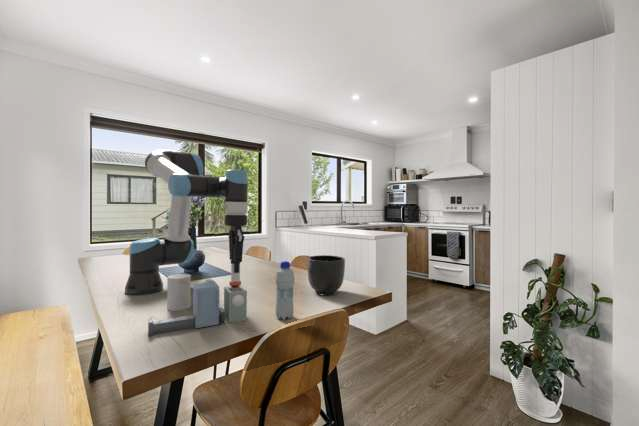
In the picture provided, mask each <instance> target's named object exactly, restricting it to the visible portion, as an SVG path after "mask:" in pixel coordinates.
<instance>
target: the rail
mask: <svg viewBox="0 0 639 426" xmlns="http://www.w3.org/2000/svg"><path fill="white" fill-rule="evenodd" d="M147 321H148V322H147V323H148V325H147V326H148V327H147V329H148V333H147V335H148V337H151V336H154V335H156V334H157V335H158V334H163V333H164V334H165V333H169V332H176V331H181V330H187V329H194V328H195V315H193V314H192V315H186V316H178V317H172V318H165V319H158V320H154V317H153V316H150V317H148V320H147ZM219 324H221V325H224V324H225V325H226V317H225V310H224V307H223V306H221V307H219Z"/></svg>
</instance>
